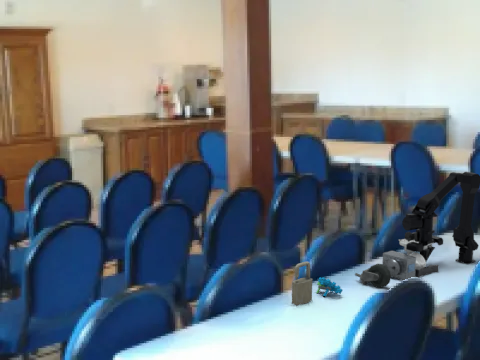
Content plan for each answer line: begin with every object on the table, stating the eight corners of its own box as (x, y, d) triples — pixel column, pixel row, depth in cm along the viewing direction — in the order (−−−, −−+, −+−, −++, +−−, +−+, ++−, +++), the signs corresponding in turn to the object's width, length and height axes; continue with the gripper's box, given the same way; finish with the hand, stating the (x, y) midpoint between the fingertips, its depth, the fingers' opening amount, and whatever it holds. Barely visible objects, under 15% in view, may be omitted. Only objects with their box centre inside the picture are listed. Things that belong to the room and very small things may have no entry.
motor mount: (409, 263, 299) (410, 243, 297) (438, 272, 288) (440, 251, 286) (376, 274, 284) (377, 253, 283) (405, 283, 273) (406, 261, 272)
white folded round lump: (420, 274, 284) (421, 256, 283) (403, 271, 289) (404, 253, 287) (428, 270, 290) (429, 252, 289) (411, 266, 295) (412, 249, 293)
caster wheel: (391, 289, 269) (358, 277, 278) (394, 266, 266) (361, 255, 276) (383, 293, 265) (351, 281, 274) (387, 269, 262) (353, 258, 272)
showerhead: (396, 236, 316) (418, 236, 316) (395, 251, 317) (417, 252, 317) (400, 242, 307) (423, 242, 306) (400, 257, 308) (422, 258, 308)
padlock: (290, 302, 251) (290, 263, 248) (305, 297, 256) (306, 259, 253) (298, 305, 248) (298, 265, 245) (313, 300, 253) (314, 261, 250)
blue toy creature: (348, 292, 257) (333, 277, 253) (341, 305, 255) (325, 290, 251) (327, 288, 266) (312, 273, 262) (320, 301, 264) (305, 286, 260)
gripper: (422, 220, 302) (421, 254, 305) (396, 227, 290) (395, 263, 293) (444, 225, 293) (442, 260, 296) (418, 232, 282) (416, 269, 285)
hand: (424, 263), depth 293 cm, fingers closed
